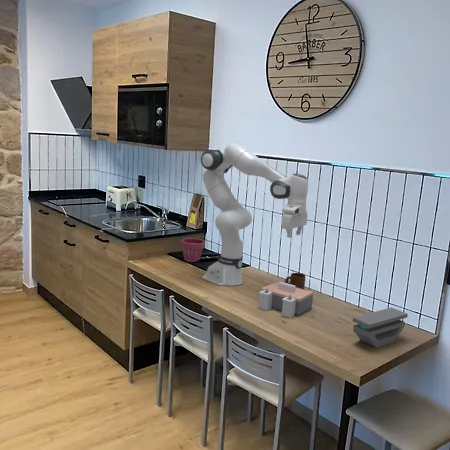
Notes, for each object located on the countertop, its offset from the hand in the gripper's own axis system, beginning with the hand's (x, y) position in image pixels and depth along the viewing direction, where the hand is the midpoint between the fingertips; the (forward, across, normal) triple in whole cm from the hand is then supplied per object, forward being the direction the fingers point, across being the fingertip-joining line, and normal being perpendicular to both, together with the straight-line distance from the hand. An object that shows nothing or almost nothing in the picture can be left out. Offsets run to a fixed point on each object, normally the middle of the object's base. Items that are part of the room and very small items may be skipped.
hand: (293, 236), depth 233 cm
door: (+24, +16, +6) cm, 29 cm away
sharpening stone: (+32, +20, +52) cm, 64 cm away
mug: (+31, -8, -1) cm, 32 cm away
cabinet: (+31, +15, +6) cm, 35 cm away
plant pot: (+31, -14, -73) cm, 81 cm away
